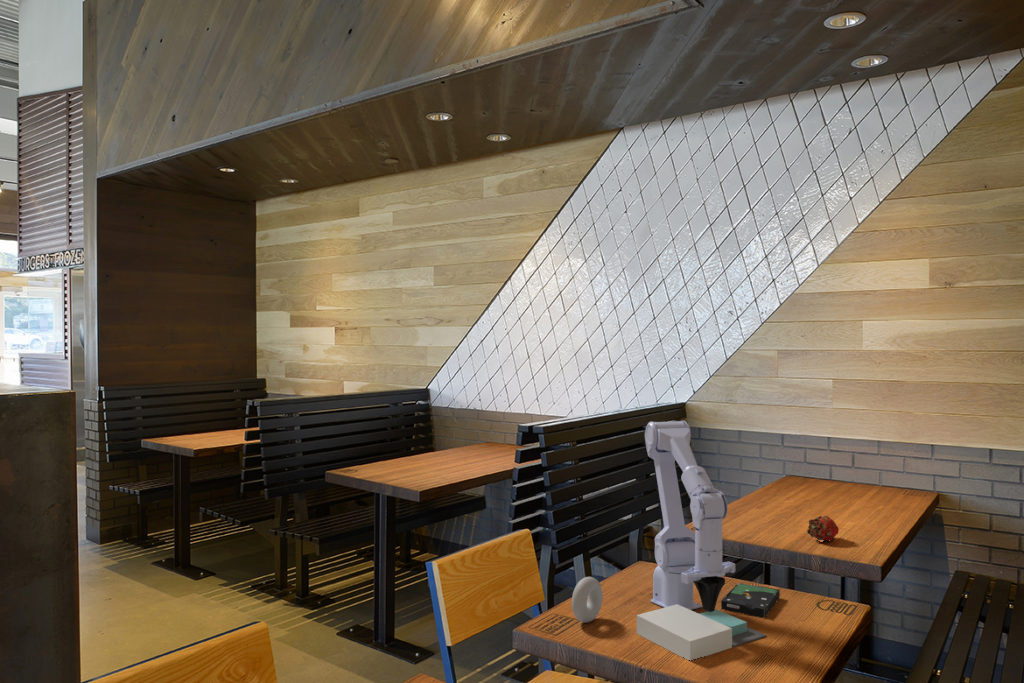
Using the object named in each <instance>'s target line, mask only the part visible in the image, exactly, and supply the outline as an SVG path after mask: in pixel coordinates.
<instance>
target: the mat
mask: <svg viewBox="0 0 1024 683" xmlns="http://www.w3.org/2000/svg"><path fill="white" fill-rule="evenodd" d="M765 637H767V634H765V633H762V632H761V631H758V630H756V629H753V628H751V627H749V626H747V632H743V633H740V634H737V635H734V636H732V648H735V647H738V646H741V645H744V644H748V643H751V642H753V641H757V640H759V639H763V638H765Z"/></svg>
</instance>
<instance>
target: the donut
mask: <svg viewBox="0 0 1024 683" xmlns="http://www.w3.org/2000/svg"><path fill="white" fill-rule="evenodd" d="M603 593H604V592H603V588H602V586H601V584H600V582H599V581H598V580H597V578H594V577H592V576H585V577H583V578H581V579H580V580H579V581H578V582H577V583H576V585H575V587H574V590H573V592H572V597H571V610H572V613H573V615H574V617H575V618H576V620H577V621H578V622H581V623H590V622H592V621H593V620H595V619H596V618H597V616H598V615H599V613H600V611H601V608H602V605H603V599H604V598H603V596H604V595H603Z"/></svg>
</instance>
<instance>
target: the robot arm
mask: <svg viewBox="0 0 1024 683" xmlns="http://www.w3.org/2000/svg"><path fill="white" fill-rule="evenodd" d="M691 434H692V433H691V427H690V425H689V424H688V422H687V421H686V420H679V421H649V422H648V423H647V425H646V427H645V430H644V440H645V446H646V447H645V448H646V452H647V456H648V457H649V458H650V459H652V460H653V463H654V468H655V476H656V481H657V487H658V488H657V490H658V495H659V501H660V508H661V513H662V514H661V515H662V521H663V528H662V529H661V530H660V531H659V532H658V533H657V534H656V536H655V537H654V558H655V562H656V563H657V566H656V568H655V569H654V571H653V576H652V599H651V598H650V603H652V604H653V603H654V604H655V605H658V606H660V607H662V608H665V607H669V606H672V605H676V604H678V605H680V606H682V607H685V608H687V609H689V610H691V611H693V610H696V609H699V608H702V609H703V610H704V611H705V612H707V611H708V612H712V611H714V610H715V609H716V605H717V602H718V597H719V595H720V593H721V591H722V588H723V587H724V586H725V584H726V578H725V577H724V576H726V574H728V573H730V574H735V572H736V563H734V562H732V561H724V562H723V519H726V517H727V515H728V510H729V509H728V502H727V498H726V496H725V494H724V493H723V492H722V491H720V490H719V489H718V488H715V487H714V486H713V483H712V481H711V479H710V478H709V475H708V473H707V472H706V469H705V468H704V467H702V466H700V465H698V463H697V460H696V458H695V456H694V453H693V450H692V448H691V445H690V443H691V437H692V435H691ZM675 461H676V462H675ZM676 464H678V466H679V468H680V469H681V471H682V474H681V477H680V478H681V482H682V484H683V486H684V489H685V490H686V492H687V494H688V498H689V499H690V503H689V507H690V508H689V509H690V513H691V517H692V526H693V527H694V530H695V532H694V531H693V530H692V529H690V528H689V527H687V526H686V524H685V518H684V512H683V506H682V498H681V493H680V487H679V482H678V475H677V468H676ZM694 585H695V587H696V589H697V592H698V594H699V597H700V602H701V604H700V603H698V602H696V601H694Z"/></svg>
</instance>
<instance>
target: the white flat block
mask: <svg viewBox="0 0 1024 683" xmlns="http://www.w3.org/2000/svg"><path fill="white" fill-rule="evenodd" d="M636 634H637V635H639V636H641V637H642V638H644V639H647V640H649V641H650V642H652V643H654V644H656V645H658V646H660V647H662V648H664V649H666V650H668V651H669V652H671V653H673V654H675V655H677V656H679V657H680V658H683V657H684V658H685V659H684V658H683V659H684V660H686V659H687V660H686V661H688V660H690V661H689V662H692V661H691V660H693V659H696V660H698V659H697V658H699V659H701V658H700V657H702V658H704V656H705V657H708V656H711V655H714V654H717V653H720V652H722V651H723V652H724V651H726V650H730V649H732V648H733V646H732V628H730V627H728V626H725V625H723V624H721V623H719V622H716V621H714V620H712V619H710V618H707V617H705V616H703V615H700V613H698V612H696V611H693V610H689V609H687V608H685V607H682V606H680V605H678V604H676V605H672V606H669V607H665V608H664V607H662V608H657V609H654V610H651V611H647V612H642V613H640V614H637V615H636ZM693 661H694V660H693Z"/></svg>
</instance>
